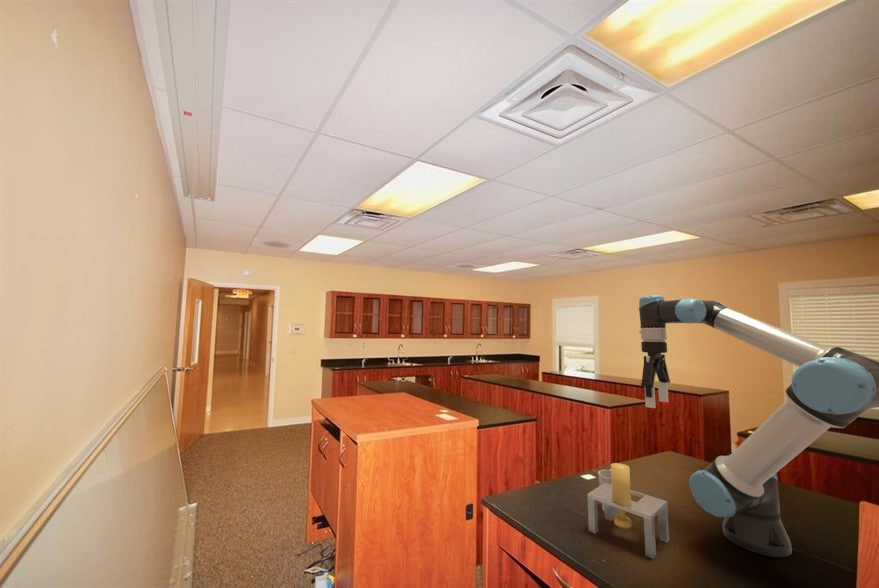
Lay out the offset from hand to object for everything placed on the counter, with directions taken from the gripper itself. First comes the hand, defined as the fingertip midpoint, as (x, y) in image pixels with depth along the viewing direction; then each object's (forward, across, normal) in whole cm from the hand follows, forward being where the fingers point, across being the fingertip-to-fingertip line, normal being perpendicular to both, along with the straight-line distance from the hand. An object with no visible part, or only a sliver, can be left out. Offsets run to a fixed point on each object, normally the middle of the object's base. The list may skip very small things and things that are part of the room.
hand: (657, 404), depth 120 cm
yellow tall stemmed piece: (+32, +22, -4) cm, 39 cm away
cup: (+37, +7, -14) cm, 40 cm away
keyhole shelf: (+37, +18, -4) cm, 41 cm away
